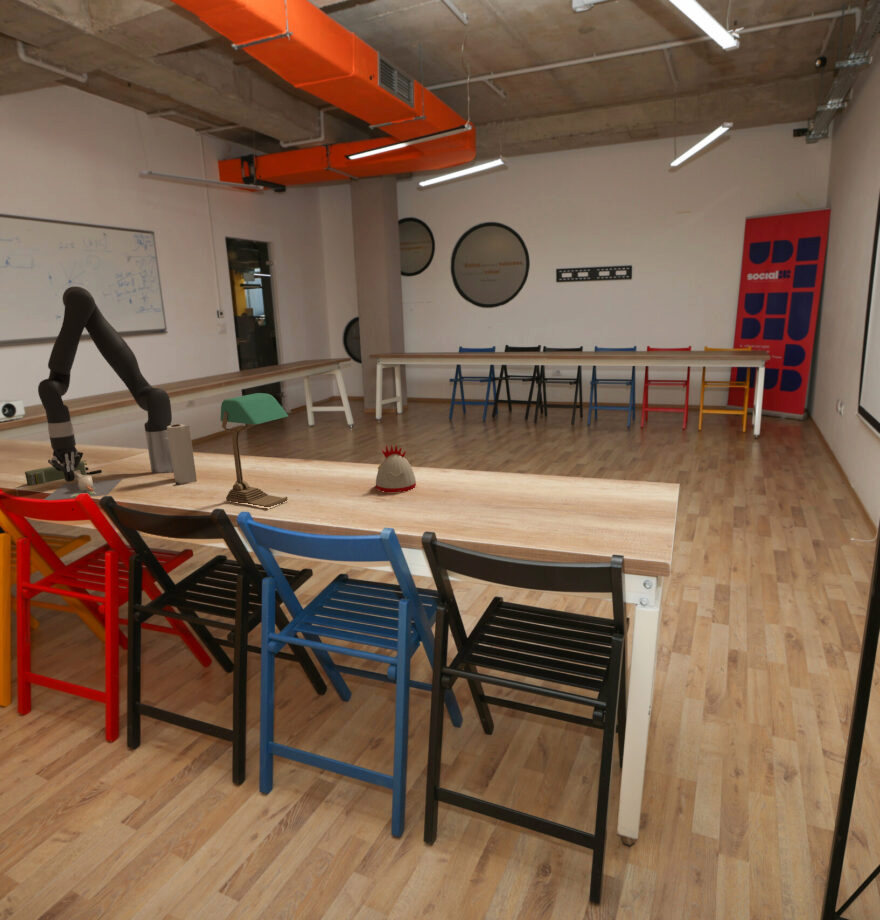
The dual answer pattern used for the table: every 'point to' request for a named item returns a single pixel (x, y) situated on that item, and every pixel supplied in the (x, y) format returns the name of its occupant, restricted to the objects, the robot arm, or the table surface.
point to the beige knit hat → (395, 472)
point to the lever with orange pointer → (84, 481)
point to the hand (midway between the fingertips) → (70, 481)
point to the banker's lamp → (238, 411)
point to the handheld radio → (53, 474)
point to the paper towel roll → (181, 453)
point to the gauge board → (73, 490)
